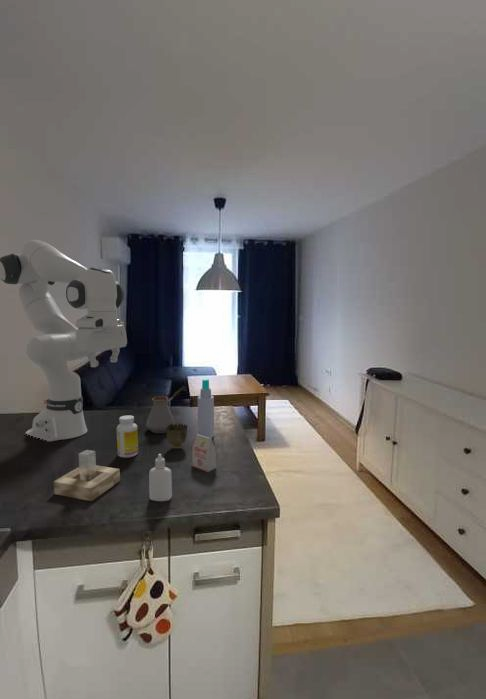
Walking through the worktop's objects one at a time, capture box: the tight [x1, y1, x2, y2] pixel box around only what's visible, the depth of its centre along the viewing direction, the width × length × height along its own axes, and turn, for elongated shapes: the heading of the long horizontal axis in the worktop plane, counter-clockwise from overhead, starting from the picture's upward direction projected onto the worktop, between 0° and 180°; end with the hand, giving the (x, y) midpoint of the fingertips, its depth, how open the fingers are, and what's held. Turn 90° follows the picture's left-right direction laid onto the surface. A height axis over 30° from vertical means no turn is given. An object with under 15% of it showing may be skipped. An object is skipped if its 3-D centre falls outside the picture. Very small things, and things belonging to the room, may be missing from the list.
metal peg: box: [78, 449, 97, 481], centre depth 106 cm, size 3×3×10 cm
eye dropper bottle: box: [148, 453, 173, 502], centre depth 100 cm, size 4×6×12 cm
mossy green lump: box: [165, 422, 188, 451], centre depth 134 cm, size 8×7×8 cm
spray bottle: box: [197, 378, 215, 439], centre depth 145 cm, size 6×6×22 cm
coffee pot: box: [145, 385, 188, 434], centre depth 157 cm, size 21×12×15 cm, turn 150°
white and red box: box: [191, 433, 217, 473], centre depth 119 cm, size 4×7×10 cm, turn 52°
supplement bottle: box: [116, 415, 139, 459], centre depth 128 cm, size 7×7×13 cm
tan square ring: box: [53, 464, 121, 502], centre depth 106 cm, size 12×12×4 cm
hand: (104, 364), depth 122 cm, fingers open, 8 cm apart
